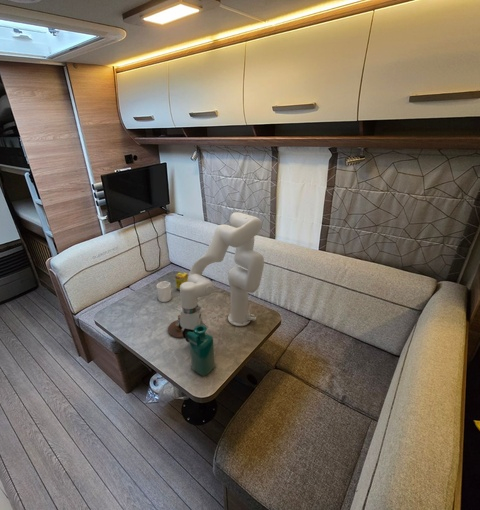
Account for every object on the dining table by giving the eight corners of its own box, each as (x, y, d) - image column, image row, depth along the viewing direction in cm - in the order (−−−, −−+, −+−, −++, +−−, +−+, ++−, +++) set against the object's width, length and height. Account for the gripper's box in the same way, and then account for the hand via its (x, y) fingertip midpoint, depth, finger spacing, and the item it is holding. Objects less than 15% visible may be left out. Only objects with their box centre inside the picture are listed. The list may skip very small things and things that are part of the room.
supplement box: (176, 290, 185) (175, 275, 181) (180, 285, 190) (179, 271, 186) (184, 291, 183) (183, 277, 179) (188, 287, 188) (187, 273, 184)
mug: (166, 291, 185) (164, 277, 181) (177, 293, 182) (175, 279, 177) (155, 300, 175) (153, 286, 171) (166, 303, 172) (164, 289, 168)
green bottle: (202, 357, 130) (199, 319, 121) (216, 365, 125) (214, 326, 116) (188, 370, 124) (183, 331, 114) (202, 379, 119) (198, 339, 109)
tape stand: (198, 323, 153) (197, 310, 150) (188, 340, 141) (187, 327, 138) (175, 319, 158) (173, 306, 154) (163, 335, 146) (161, 322, 142)
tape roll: (201, 334, 137) (201, 328, 136) (196, 344, 131) (196, 337, 130) (188, 332, 139) (188, 325, 138) (183, 341, 133) (182, 334, 132)
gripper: (210, 305, 129) (212, 336, 136) (176, 300, 134) (179, 330, 141) (204, 315, 122) (206, 346, 129) (169, 309, 127) (173, 339, 135)
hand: (192, 337), depth 135 cm, fingers closed on tape roll, 7 cm apart
